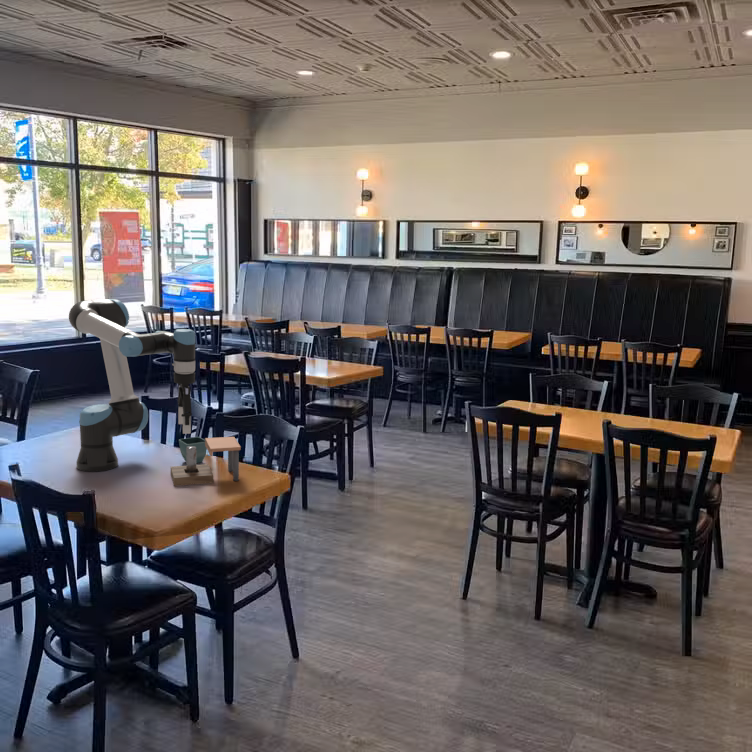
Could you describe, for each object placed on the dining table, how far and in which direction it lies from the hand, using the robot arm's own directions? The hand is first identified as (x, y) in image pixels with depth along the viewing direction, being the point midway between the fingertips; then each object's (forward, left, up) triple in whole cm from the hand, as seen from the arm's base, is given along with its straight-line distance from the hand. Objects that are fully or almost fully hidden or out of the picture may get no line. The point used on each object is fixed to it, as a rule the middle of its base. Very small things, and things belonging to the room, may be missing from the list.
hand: (184, 428), depth 280 cm
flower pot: (-20, +5, -19) cm, 28 cm away
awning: (+1, +14, -19) cm, 24 cm away
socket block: (+1, +2, -19) cm, 19 cm away
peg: (+1, +2, -19) cm, 19 cm away
